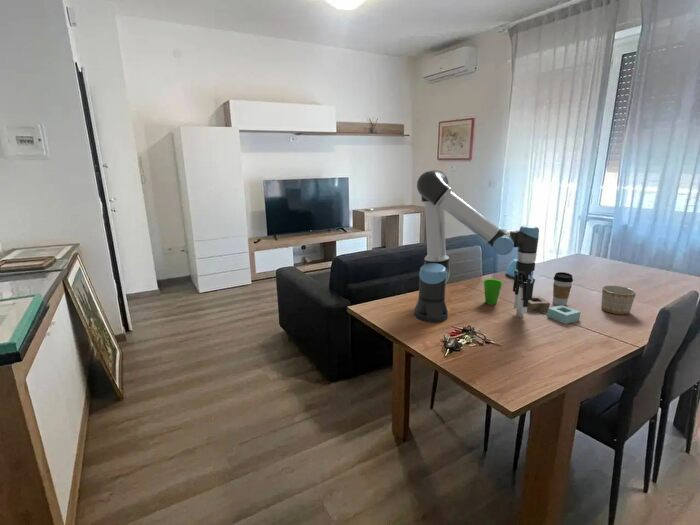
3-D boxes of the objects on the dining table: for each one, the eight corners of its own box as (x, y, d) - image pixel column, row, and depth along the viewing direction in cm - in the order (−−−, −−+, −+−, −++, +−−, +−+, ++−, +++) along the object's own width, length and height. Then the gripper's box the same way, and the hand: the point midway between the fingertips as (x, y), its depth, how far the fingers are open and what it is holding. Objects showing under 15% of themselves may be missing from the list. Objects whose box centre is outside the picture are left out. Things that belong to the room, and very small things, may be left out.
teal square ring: (565, 323, 161) (566, 315, 160) (547, 316, 169) (548, 308, 168) (579, 320, 165) (580, 311, 164) (561, 312, 173) (562, 304, 172)
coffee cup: (568, 301, 186) (572, 273, 182) (570, 307, 179) (574, 278, 175) (549, 299, 189) (553, 271, 185) (550, 305, 182) (554, 275, 178)
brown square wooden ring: (530, 311, 175) (531, 303, 174) (520, 304, 183) (521, 296, 182) (548, 310, 175) (550, 302, 174) (538, 303, 184) (539, 296, 183)
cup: (502, 306, 181) (504, 285, 178) (482, 305, 183) (484, 284, 180) (498, 300, 189) (500, 279, 187) (480, 298, 191) (481, 278, 188)
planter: (602, 303, 183) (606, 283, 180) (634, 310, 174) (638, 289, 172) (595, 311, 175) (599, 290, 172) (628, 318, 166) (633, 296, 163)
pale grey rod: (517, 317, 169) (521, 286, 165) (514, 314, 171) (518, 283, 167) (524, 317, 169) (528, 285, 165) (521, 314, 172) (524, 283, 168)
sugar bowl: (537, 279, 221) (539, 260, 218) (512, 279, 221) (514, 260, 218) (526, 272, 236) (528, 254, 232) (502, 272, 236) (504, 254, 233)
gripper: (545, 266, 155) (538, 318, 161) (523, 255, 172) (518, 302, 178) (528, 267, 154) (522, 318, 161) (508, 256, 172) (503, 303, 178)
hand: (520, 310), depth 169 cm, fingers open, 5 cm apart
